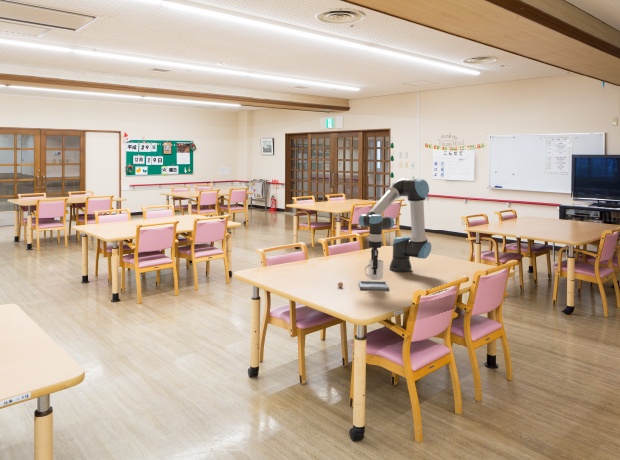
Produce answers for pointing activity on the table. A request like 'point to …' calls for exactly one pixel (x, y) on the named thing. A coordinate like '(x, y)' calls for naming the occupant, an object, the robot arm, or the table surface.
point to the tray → (373, 285)
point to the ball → (340, 284)
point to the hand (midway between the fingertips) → (373, 277)
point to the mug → (379, 270)
